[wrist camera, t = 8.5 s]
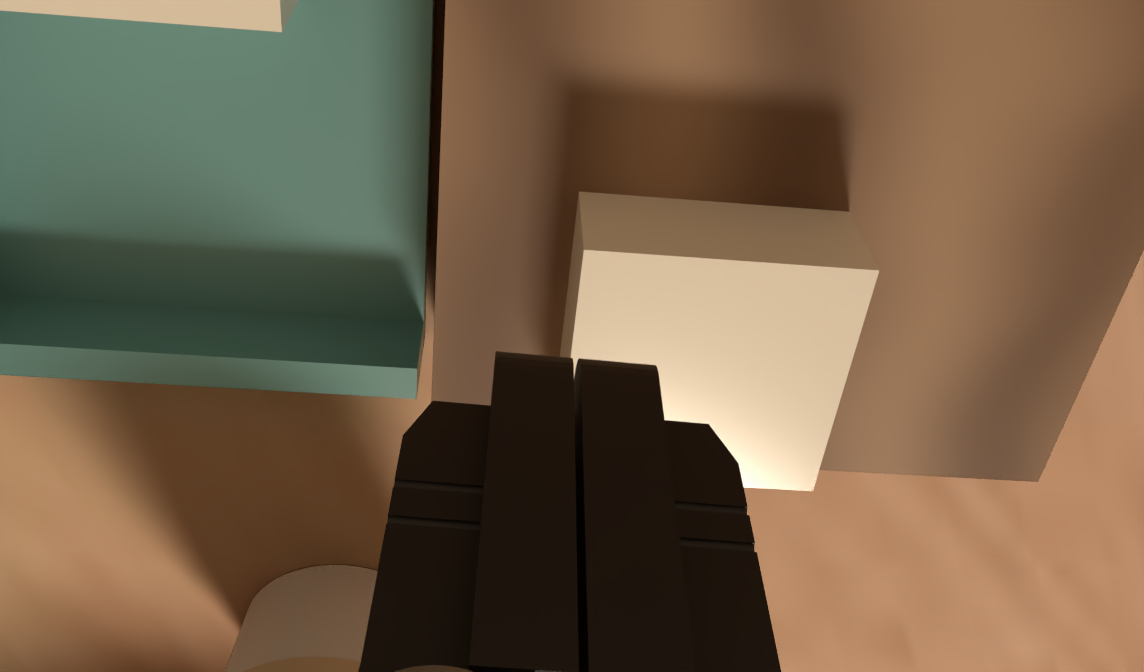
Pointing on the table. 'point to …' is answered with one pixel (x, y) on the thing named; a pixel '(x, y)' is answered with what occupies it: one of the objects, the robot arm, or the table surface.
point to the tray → (218, 199)
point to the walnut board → (818, 187)
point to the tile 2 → (726, 317)
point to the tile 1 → (170, 11)
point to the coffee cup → (307, 622)
